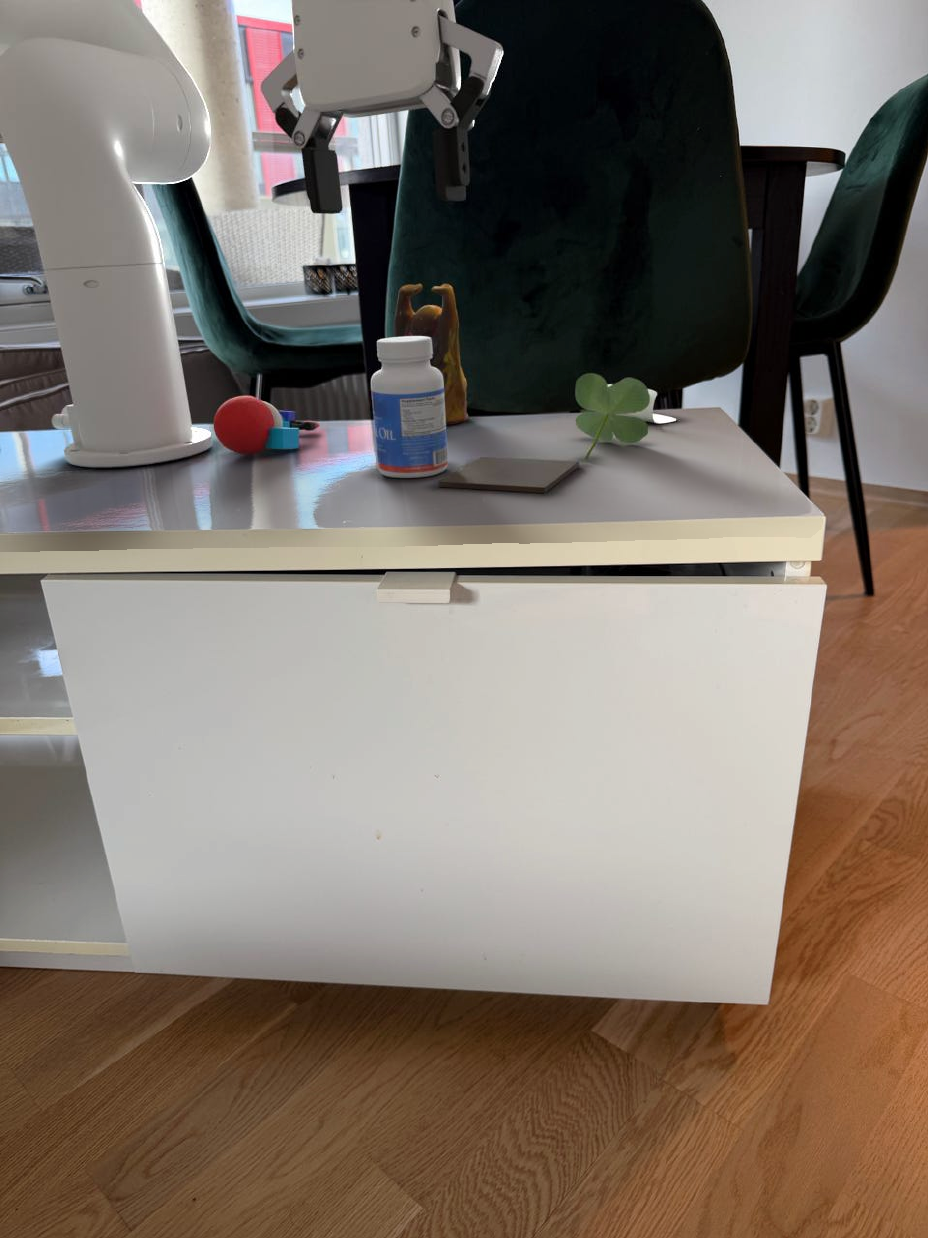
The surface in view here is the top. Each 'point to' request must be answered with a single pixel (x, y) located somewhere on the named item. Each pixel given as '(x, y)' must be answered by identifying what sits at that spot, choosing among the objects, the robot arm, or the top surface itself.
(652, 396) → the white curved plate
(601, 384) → the green leafy piece
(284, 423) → the toy figure
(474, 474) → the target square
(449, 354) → the figurine
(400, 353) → the pill bottle
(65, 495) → the top surface
